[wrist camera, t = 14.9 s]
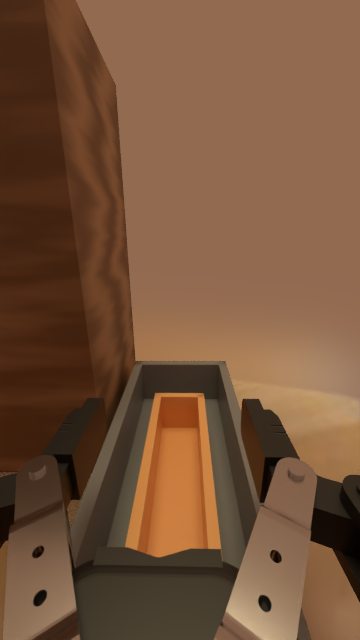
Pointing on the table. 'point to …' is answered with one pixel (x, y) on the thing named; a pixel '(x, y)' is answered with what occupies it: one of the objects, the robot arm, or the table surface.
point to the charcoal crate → (127, 451)
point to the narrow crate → (175, 481)
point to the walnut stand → (58, 228)
